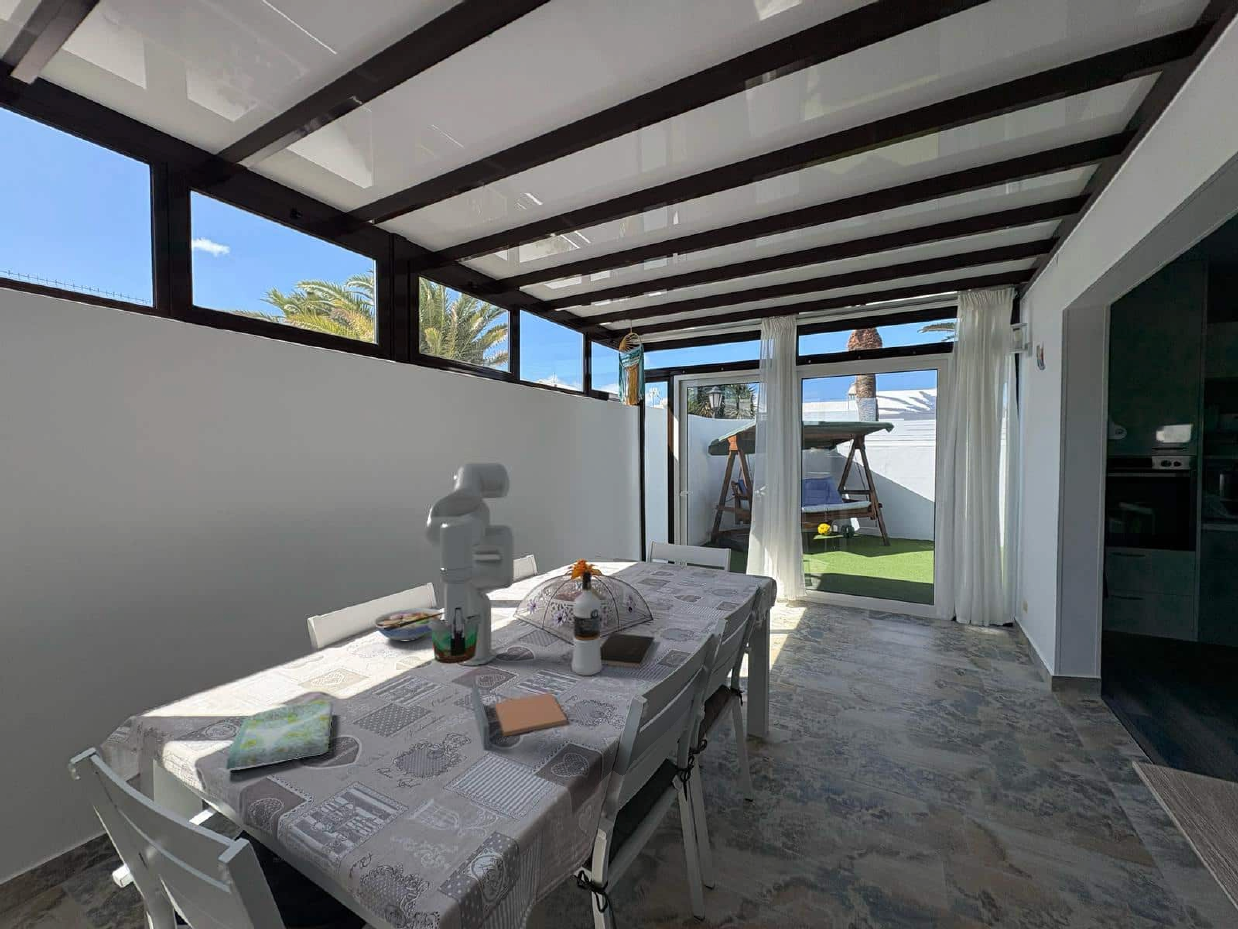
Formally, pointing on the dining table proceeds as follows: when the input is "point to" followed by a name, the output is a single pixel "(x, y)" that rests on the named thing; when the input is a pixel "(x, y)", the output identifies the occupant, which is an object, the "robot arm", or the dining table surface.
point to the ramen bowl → (406, 623)
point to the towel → (282, 734)
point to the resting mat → (529, 714)
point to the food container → (444, 635)
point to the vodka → (586, 631)
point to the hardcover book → (625, 649)
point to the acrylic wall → (480, 716)
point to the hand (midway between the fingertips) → (457, 648)
